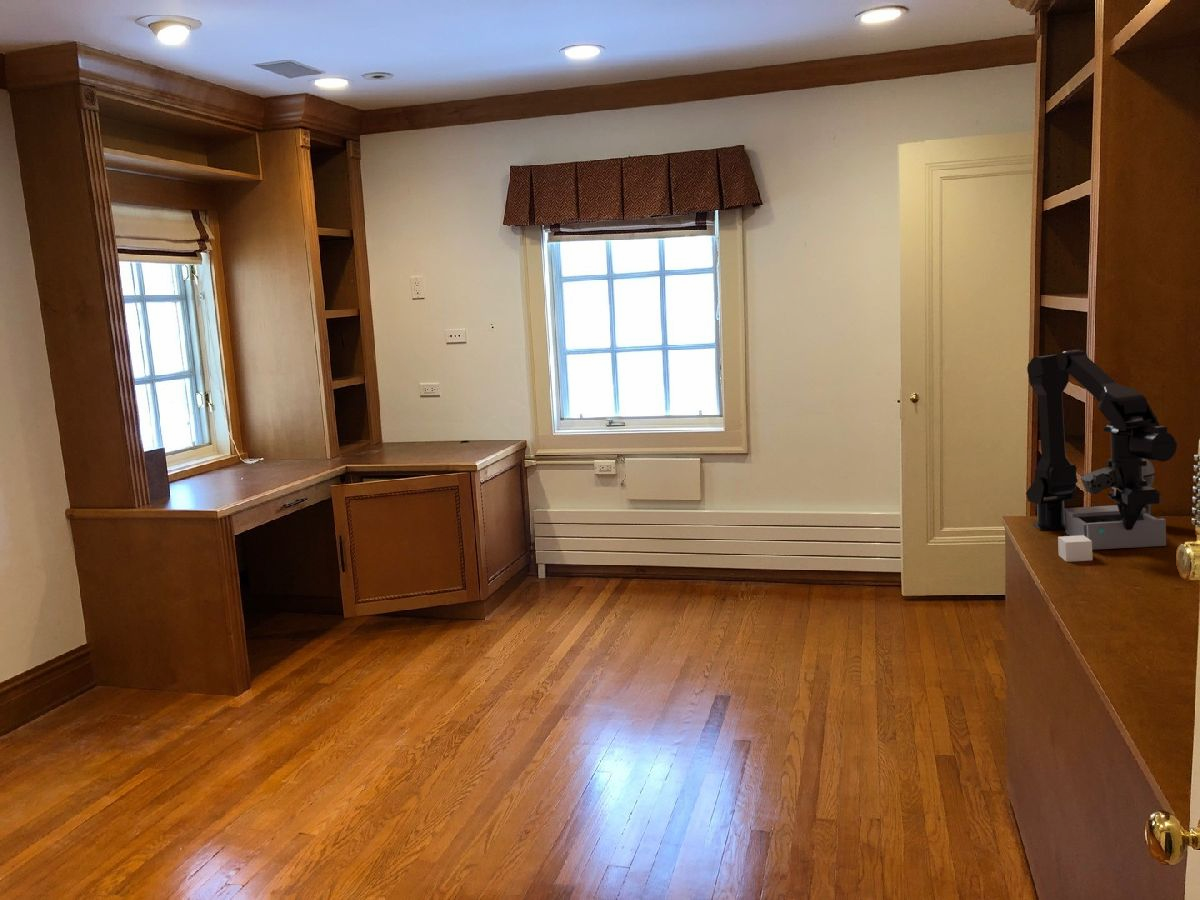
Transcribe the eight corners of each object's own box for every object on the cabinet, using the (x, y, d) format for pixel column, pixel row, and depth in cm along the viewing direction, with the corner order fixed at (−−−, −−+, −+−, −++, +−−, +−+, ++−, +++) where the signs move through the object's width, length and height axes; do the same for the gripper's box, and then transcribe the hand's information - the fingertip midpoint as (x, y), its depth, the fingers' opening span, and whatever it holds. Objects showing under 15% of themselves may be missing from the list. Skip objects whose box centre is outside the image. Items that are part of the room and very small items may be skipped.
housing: (1065, 533, 220) (1064, 508, 219) (1136, 529, 217) (1136, 503, 217) (1084, 548, 207) (1083, 521, 206) (1160, 543, 205) (1160, 516, 204)
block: (1058, 555, 204) (1058, 536, 203) (1084, 553, 203) (1083, 535, 202) (1066, 561, 199) (1065, 542, 198) (1092, 560, 198) (1091, 541, 198)
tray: (1068, 535, 217) (1068, 510, 216) (1141, 530, 215) (1140, 506, 214) (1089, 550, 204) (1088, 524, 203) (1167, 546, 202) (1166, 520, 201)
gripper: (1070, 451, 210) (1072, 521, 212) (1100, 465, 192) (1102, 543, 194) (1125, 447, 208) (1127, 518, 210) (1161, 461, 190) (1163, 539, 192)
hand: (1128, 529), depth 202 cm, fingers closed
